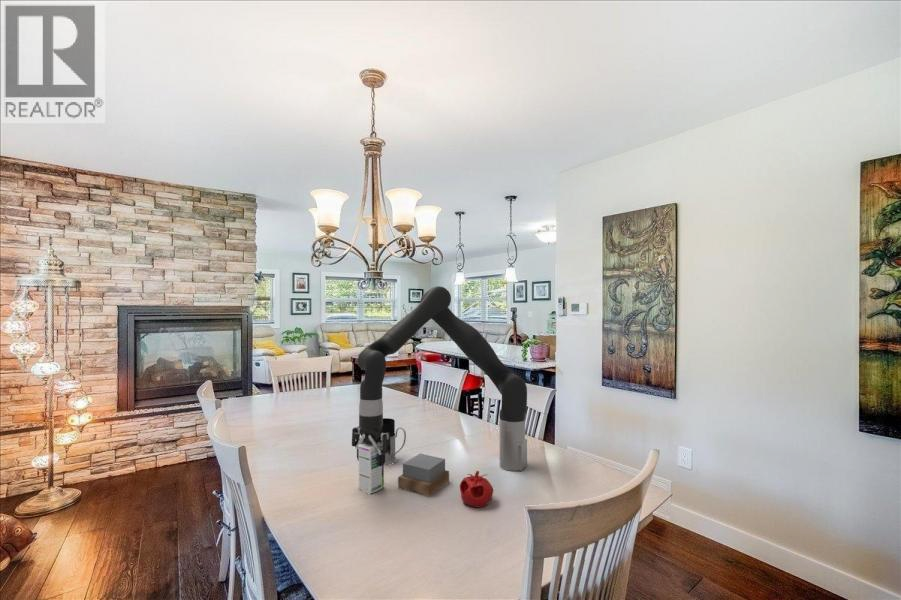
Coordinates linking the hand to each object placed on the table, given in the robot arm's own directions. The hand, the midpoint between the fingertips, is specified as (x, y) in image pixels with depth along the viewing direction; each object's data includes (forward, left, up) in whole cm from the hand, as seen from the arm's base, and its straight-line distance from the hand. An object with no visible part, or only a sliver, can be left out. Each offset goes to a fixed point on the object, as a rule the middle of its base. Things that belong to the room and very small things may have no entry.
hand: (370, 462), depth 128 cm
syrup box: (0, 0, -9) cm, 9 cm away
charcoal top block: (-13, -11, -5) cm, 18 cm away
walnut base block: (-13, -11, -9) cm, 19 cm away
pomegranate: (-33, -9, -9) cm, 36 cm away
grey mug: (+8, -20, -9) cm, 23 cm away
